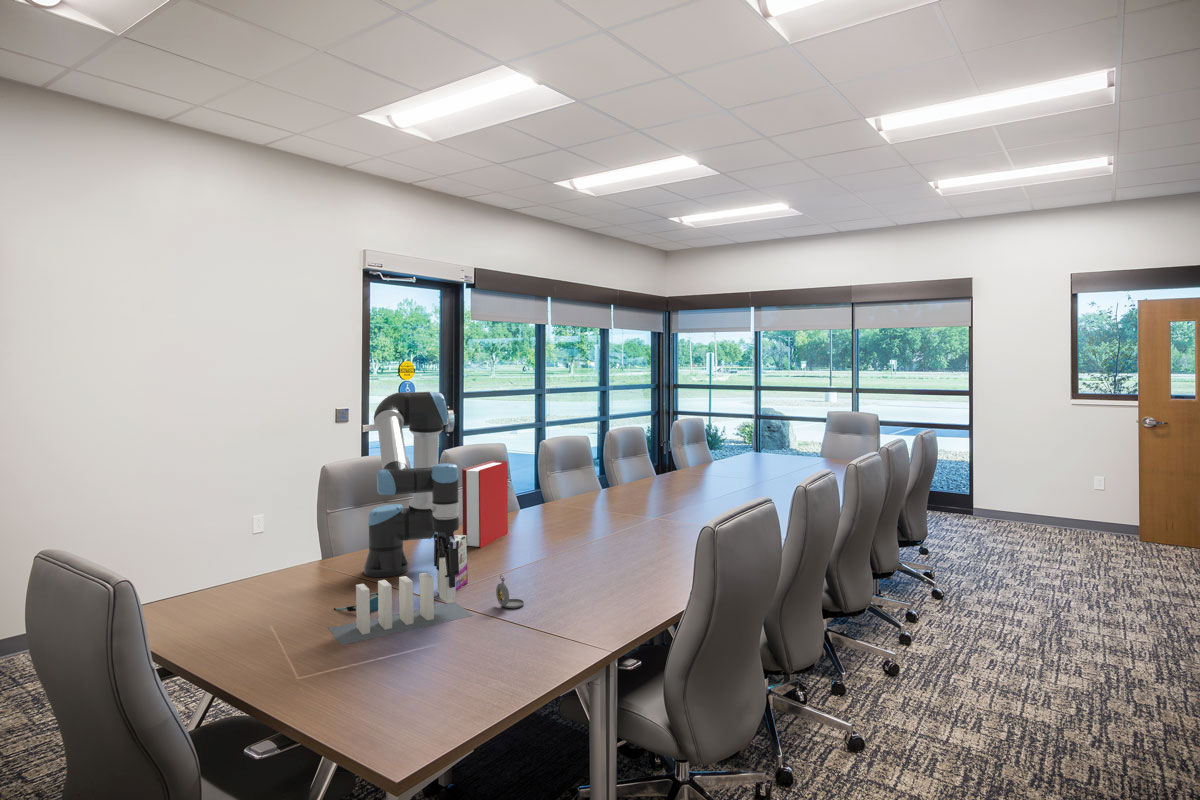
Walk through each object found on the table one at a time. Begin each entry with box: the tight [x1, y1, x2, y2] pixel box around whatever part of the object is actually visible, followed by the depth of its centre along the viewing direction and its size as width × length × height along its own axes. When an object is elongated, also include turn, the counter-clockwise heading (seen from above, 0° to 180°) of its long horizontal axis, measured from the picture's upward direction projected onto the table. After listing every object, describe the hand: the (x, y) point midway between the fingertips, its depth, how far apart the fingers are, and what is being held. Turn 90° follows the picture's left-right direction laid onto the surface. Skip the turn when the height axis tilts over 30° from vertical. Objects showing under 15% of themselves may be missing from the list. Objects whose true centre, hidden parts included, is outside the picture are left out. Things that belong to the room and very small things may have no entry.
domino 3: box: [398, 575, 414, 625], centre depth 188 cm, size 6×2×12 cm, turn 35°
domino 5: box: [438, 557, 455, 604], centre depth 195 cm, size 6×2×12 cm, turn 35°
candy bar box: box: [448, 534, 469, 592], centre depth 219 cm, size 11×5×16 cm, turn 168°
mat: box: [328, 601, 474, 646], centre depth 188 cm, size 14×37×1 cm, turn 125°
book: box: [461, 460, 509, 549], centre depth 282 cm, size 27×8×32 cm, turn 163°
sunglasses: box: [333, 591, 378, 613], centre depth 202 cm, size 14×15×5 cm
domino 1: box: [355, 583, 371, 635], centre depth 182 cm, size 6×2×12 cm, turn 35°
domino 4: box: [419, 572, 435, 620], centre depth 192 cm, size 6×2×12 cm, turn 35°
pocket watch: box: [495, 575, 525, 609], centre depth 201 cm, size 8×8×10 cm
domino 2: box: [377, 579, 393, 630], centre depth 185 cm, size 6×2×12 cm, turn 35°
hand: (446, 594), depth 195 cm, fingers closed on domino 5, 6 cm apart
